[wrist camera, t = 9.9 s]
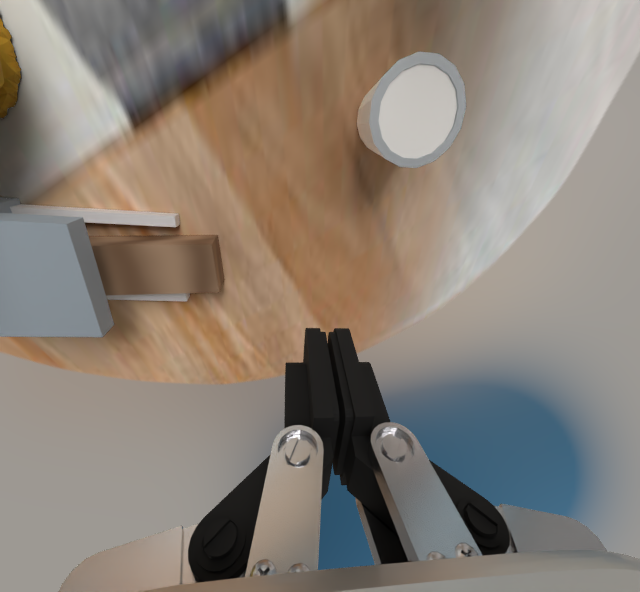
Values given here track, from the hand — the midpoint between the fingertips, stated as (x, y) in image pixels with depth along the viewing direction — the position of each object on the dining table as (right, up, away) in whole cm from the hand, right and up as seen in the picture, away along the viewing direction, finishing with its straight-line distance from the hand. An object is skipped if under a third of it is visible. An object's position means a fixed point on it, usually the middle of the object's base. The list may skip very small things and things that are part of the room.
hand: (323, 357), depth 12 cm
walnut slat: (-19, +6, +18) cm, 27 cm away
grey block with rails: (-22, +7, +18) cm, 29 cm away
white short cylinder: (+6, +18, +15) cm, 24 cm away
